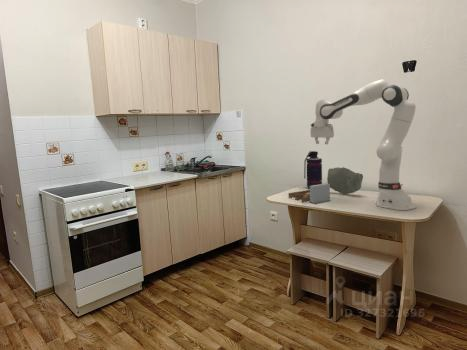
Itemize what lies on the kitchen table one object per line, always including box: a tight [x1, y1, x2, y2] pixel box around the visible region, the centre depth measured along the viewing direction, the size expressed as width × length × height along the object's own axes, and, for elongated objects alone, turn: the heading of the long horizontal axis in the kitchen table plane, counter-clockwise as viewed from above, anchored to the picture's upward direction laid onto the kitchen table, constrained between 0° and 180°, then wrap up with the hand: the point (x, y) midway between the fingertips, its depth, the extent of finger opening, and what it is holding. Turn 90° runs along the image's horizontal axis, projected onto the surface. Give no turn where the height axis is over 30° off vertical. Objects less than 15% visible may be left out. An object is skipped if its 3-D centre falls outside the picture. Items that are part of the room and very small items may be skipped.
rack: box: [288, 189, 310, 203], centre depth 232 cm, size 17×20×4 cm
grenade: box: [303, 150, 323, 190], centre depth 264 cm, size 14×12×30 cm
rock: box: [326, 166, 364, 195], centre depth 235 cm, size 27×6×20 cm, turn 45°
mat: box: [308, 199, 331, 205], centre depth 220 cm, size 7×13×1 cm, turn 115°
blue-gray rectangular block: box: [309, 182, 331, 204], centre depth 219 cm, size 4×14×11 cm, turn 115°
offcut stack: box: [302, 192, 310, 198], centre depth 228 cm, size 4×10×4 cm, turn 115°
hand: (321, 144), depth 230 cm, fingers open, 8 cm apart
